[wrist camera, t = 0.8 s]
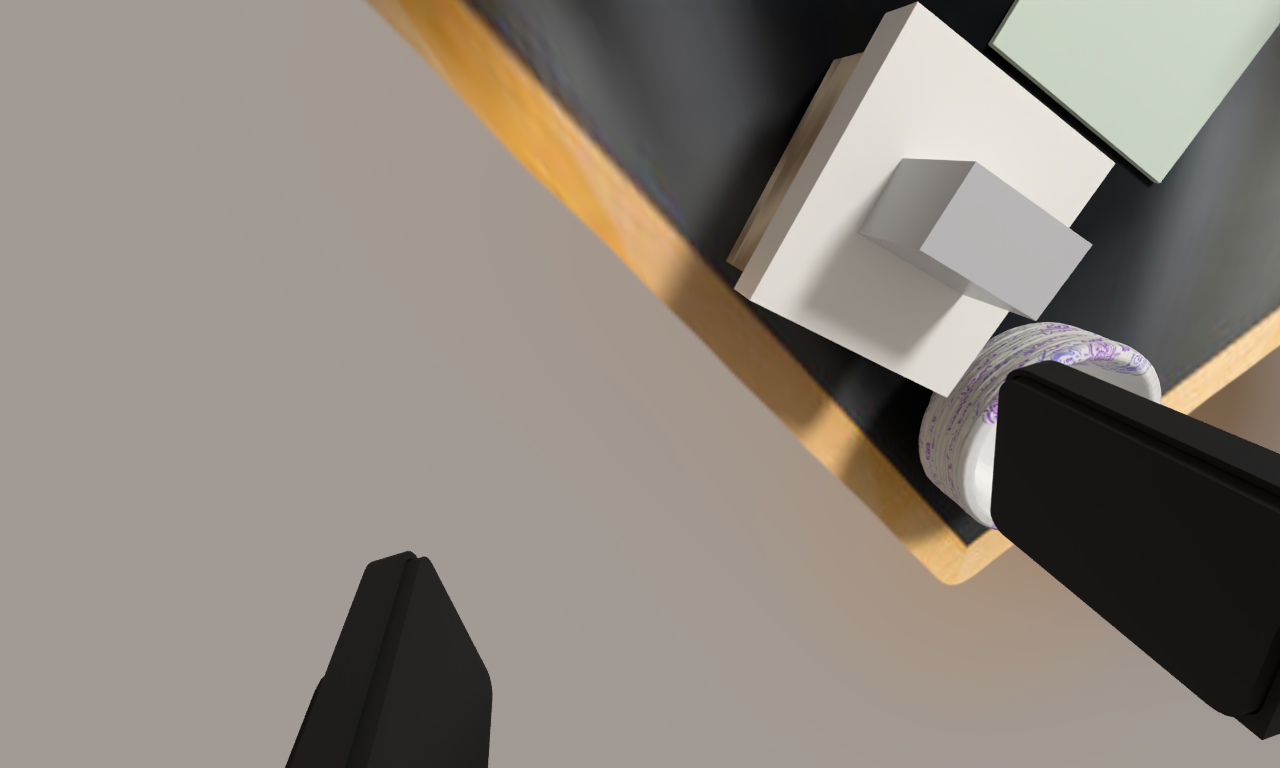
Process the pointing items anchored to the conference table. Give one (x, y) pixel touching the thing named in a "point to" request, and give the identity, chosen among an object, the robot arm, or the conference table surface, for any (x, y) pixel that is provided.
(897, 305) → the lid
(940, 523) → the conference table surface
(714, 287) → the conference table surface
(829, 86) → the box
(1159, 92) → the mat
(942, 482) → the paper bowls
